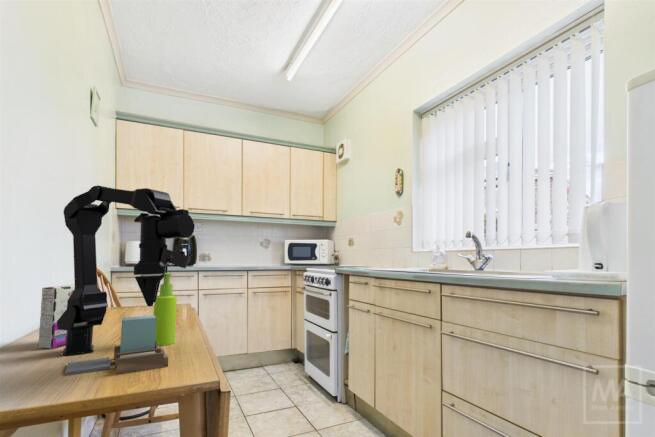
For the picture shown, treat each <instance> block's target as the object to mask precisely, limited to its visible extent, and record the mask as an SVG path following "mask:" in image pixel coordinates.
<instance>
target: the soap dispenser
mask: <svg viewBox="0 0 655 437" xmlns="http://www.w3.org/2000/svg"><path fill="white" fill-rule="evenodd" d="M165 274H167V275H166V276H165V277H164V278H163V283H161V284H160V285H159V295H157V298H156V302H154V303H153V305H154V306H153V315H154V316H155V317H156V334H155V341H156V345H160V346H161V347H163V346H170V345H174V344H175V342H176V325H177V324H176V322H177V307H178V306H177V302H178V297H177V296H176V295H173V291H174V290H173V289H174V285H173V283H171V276H172V273H171V272H168V273H165Z"/></svg>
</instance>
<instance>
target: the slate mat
mask: <svg viewBox="0 0 655 437" xmlns="http://www.w3.org/2000/svg"><path fill="white" fill-rule="evenodd" d="M103 370H104V371H105V370H111V359H110V357H108V356H107V357H101V358H94V359H93V358H92V359H87V360H79V361H78V360H77V361H71V362H67V365H66V369H65V374H64V375H65V376H70V375H78V374H83V373H84V374H85V373H91V372H97V371H99V372H100V371H103Z"/></svg>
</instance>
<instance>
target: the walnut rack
mask: <svg viewBox="0 0 655 437" xmlns="http://www.w3.org/2000/svg"><path fill="white" fill-rule="evenodd" d="M162 347H163V346H160V345H156V341H155V349H148V350H140V351H132V352H125V353H120V345H119V344H118V345H114V353H113V354H114V355H113V360H115V366H114V367H115V369H116V375H121V374H128V373H134V372H141V371H147V370H154V369H159V368H166V367H169V356H168V354H167V353H166V352H165V350H164V349H163V348H162ZM153 351H155V352H156V353H154V354H147V355H139V356H132V357H124V358H120V356H122V355H130V354H138V353H145V352H153Z"/></svg>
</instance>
